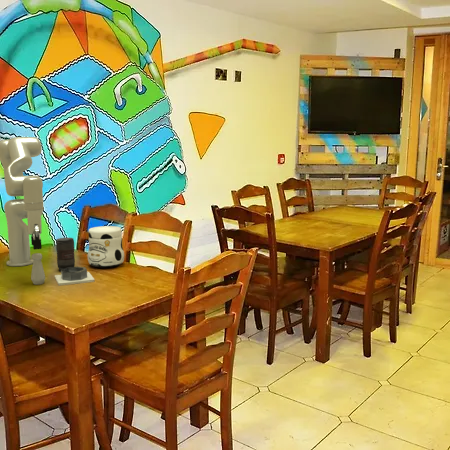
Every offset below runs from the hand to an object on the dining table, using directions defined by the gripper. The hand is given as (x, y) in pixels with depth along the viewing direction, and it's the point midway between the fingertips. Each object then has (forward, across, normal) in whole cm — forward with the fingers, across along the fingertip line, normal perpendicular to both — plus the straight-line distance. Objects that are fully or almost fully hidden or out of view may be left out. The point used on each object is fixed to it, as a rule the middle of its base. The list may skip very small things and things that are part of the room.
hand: (36, 247), depth 232 cm
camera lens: (+16, -19, +14) cm, 28 cm away
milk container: (+16, -21, +33) cm, 42 cm away
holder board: (+16, -1, +15) cm, 22 cm away
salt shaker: (+16, -1, 0) cm, 16 cm away
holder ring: (+16, -1, +15) cm, 22 cm away
